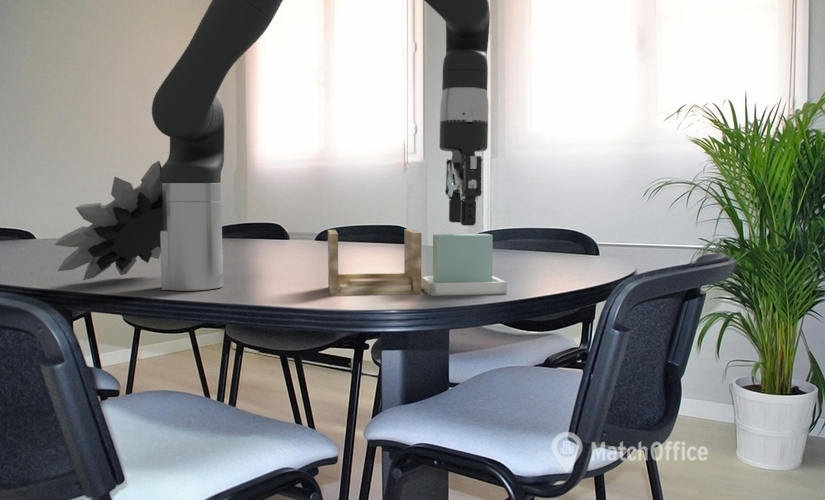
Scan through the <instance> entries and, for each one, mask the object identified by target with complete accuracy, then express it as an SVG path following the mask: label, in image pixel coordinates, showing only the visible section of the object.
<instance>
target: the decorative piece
mask: <svg viewBox="0 0 825 500" xmlns="http://www.w3.org/2000/svg"><path fill="white" fill-rule="evenodd" d="M162 167H163V166H162V165H161V162H160V160H158V161H156V162H153V163H152V164H151V165H150V167H149V168H148V169H147V171H146V172H145V173H144V175H143V177H141V178H140V181H141V183H140V185H138V186H137V187H135V188H134V187H133V185H132V183H131V182H129V181H127V180H124V179H121V178H119V177H116V176H114V178H113V180H112V187H111V192H110V195H111V197H112V198H113V200H111V201H110V202H109V203H107V204H102V203H101V202H97V203H96V202H95V203H86V204H85V203H84V204H80V205H78V206H76V207H75V209H76V212H78V213H79V215H80V216H81V217H82V219H83V220H85V221H86V222H88V223H90V225H89V226H81V227H79V228H76V229H74V230H72V231H70V232H69V233H66V234H64V235H62V236H61V237H60V238H59V239H58V240H57V241H56V242H55V243H54V244H53V245H54V246H60V247H69V248H77V249H75V250H74V251H73V252H72V253H71V254H70V255H68V256H67V257H66V258H64V261H62V263H61V265H60V266H59V268H58V270H57V272H64V271H73V270H75V269H77V268H79V267H81V266H84V265H86V264H88V265H87V266H86V268H85V272H84V276H83V280H82V281H88V280H90V279H93V278H95V277H97V276H99V274H101V273H104V272H105V271H106V270H107V269H109V268H110V267H111V266H112V265H113V263H115V268H116V270H117V272H118V273H119V275H120V276H124V275H126V274H128V272H129V271H130V270H131V268H132V267H133V266H134V264H135V263H136V262H137V258H138V257H139V258H140V260H142V261H144V262H145V263H146V264H148V263H149V261H150V259H151V258H153V259H156V260H159V259H160V258H161V246H160V232H161V231H162V230H163V205H162V202H163V201H162V183H163V182H162V180H161V170H162Z"/></svg>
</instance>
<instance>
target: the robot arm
mask: <svg viewBox="0 0 825 500" xmlns="http://www.w3.org/2000/svg"><path fill="white" fill-rule="evenodd" d="M283 1H284V0H211V2H210V4H209V6H208V8H207V10H206V11H205V13H204V15H203V17H202V19H200V22H199V24H198V26H197V28H196V30H195V32H194V34H193V36H192V37H191V39H190V41H189V44H188V45H187V47H186V48H185V49H184V51H183V53H182V54H181V56H179V59H178V60H177V62H176V63H175V64H174V66H173V68H172V69H171V70H170V72H169V73H168V74H167V76H166V77H165V78H164V80H163V81H162V83H161V85H160V86H159V88H158V89H157V91H156V93H155V95H154V97H153V100H152V103H151V104H152V105H151V116H152V120H153V123H154V125H155V126H156V128H157V129H158V131H159V132H160V133H161V134H163V135H165V136H167V137H169V153H168V158H167V160H166V161H165V163H164V164H163V165H162V166H161V167H162V170H161V180H162V182H163V183H162V201H163V202H162V205H163V230H162V231H161V232H160V246H161V253H160V270H161V271H160V272H161V273H160V275H161V276H160V277H161V290H162V291H179V292H180V291H182V292H184V291H185V292H186V291H187V292H190V291H191V292H192V291H205V290H215V289H218V288H222V287H224V264H223V263H224V262H223V260H224V258H223V223H222V222H223V221H222V220H223V217H222V215H223V213H222V182H221V180H222V178H221V177H222V171H223V167H224V163H225V114H224V109H223V105H222V103H221V101H220V99H219V98H218V97H217V94H218V92H219V90H220V88H221V85H222V83H223V81H224V80H225V78H226V76H227V74H228V72H229V71H230V70H231V68H232V67H233V66H234V65H235V63H236V62H237V61H238V60H239V59H240V58H241V57H242V56H243V55H244V54H245V53H246V52H247V51H248V50H249V49H250V48H251V47H252V46H253V45H254V44H255V43H256V42H257V41H258V40H259V39H260V38H261V36H263V34H264V33H265V32H266V31H267V29H268V27H269V26H270V25H271V23H272V21H273V19H274V18H275V15H276V14H277V12H278V10H279V8H280V6H281V5H282V3H283ZM423 1H424V2H426V4H428V6H430V7H431V8H432V9H433V10H434V11H435V12H436V13H437V14H438V15H439V16H440V17H441V18H442V19H443V21H444V22H445V51H446V53H445V56H444V58H443V63H442V84H441V85H442V88H441V89H442V90H441V99H440V106H439V107H440V111H439V149H440V150H441V151H443V152H451V153H452V156H451V158H448V159H446V162H445V164H446V171H445V172H446V174H445V179H446V180H445V190H444V191H445V195H446V196H447V199H448V221H449V222H450V223H460V225H462V226H469V227H470V226H471V227H472V226H475V225H476V223H477V222H476V220H477V218H476V217H477V201H478V198H479V197H481V196H482V168H483V167H482V161H483V158H482V156H481V155H476V153H478V152H479V153H481V152H485V151H487V149H488V139H489V134H488V133H489V97H488V80H489V79H488V78H489V76H488V75H489V71H488V69H489V68H488V67H489V66H488V57H487V56H488V55H487V54H488V47H489V35H490V23H491V22H490V21H491V20H490V19H491V17H490V15H491V13H490V2H489V0H423Z"/></svg>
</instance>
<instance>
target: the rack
mask: <svg viewBox="0 0 825 500" xmlns="http://www.w3.org/2000/svg"><path fill="white" fill-rule="evenodd" d="M403 230H404V231H403V232H404V233H403V234H404V238H403V239H404V242H403V243H404V248H403V249H404V253H403V254H404V258H403V259H404V268H403V269H404V272H387V273H386V272H382V273H380V272H379V273H339V233H338V232H337V230H336V229H327V259H328V260H327V261H328V262H327V265H328V266H327V267H328V268H327V269H328V270H327V272H328V273H327V277H328V280H327V281H328V290H329V295H330V296H332V297H333V296H337V297H338V296H371V295H372V296H373V295H375V296H376V295H382V296H383V295H407V294H408V295H412V294H413V295H416V294H417V295H419V294H420V295H421V294H422V289H421V276H422V232H420V231H418V230H414V229H411V228H404V229H403ZM375 278H407V279H408V280H409V284H410V285H411V291H368V292H340V290H339V284H349V279H375Z"/></svg>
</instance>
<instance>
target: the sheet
mask: <svg viewBox="0 0 825 500" xmlns="http://www.w3.org/2000/svg"><path fill="white" fill-rule="evenodd" d="M493 238H494V235H493V234H490V233H455V234H452V233H451V234H450V233H448V234H447V233H446V234H445V233H444V234H441V233H440V234H432V276H433V282H434V283H463V282H492V276H493V254H494V253H493V252H494V251H493V248H494V247H493V245H494V244H493V243H494V242H493Z"/></svg>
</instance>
